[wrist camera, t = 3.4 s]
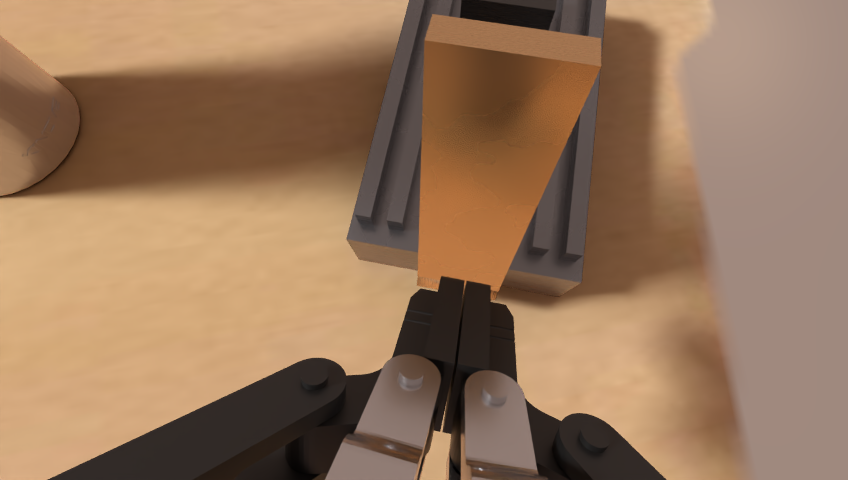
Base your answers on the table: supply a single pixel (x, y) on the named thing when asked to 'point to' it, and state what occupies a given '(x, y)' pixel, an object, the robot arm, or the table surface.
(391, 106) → the grey slider box
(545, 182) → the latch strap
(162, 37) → the table surface
